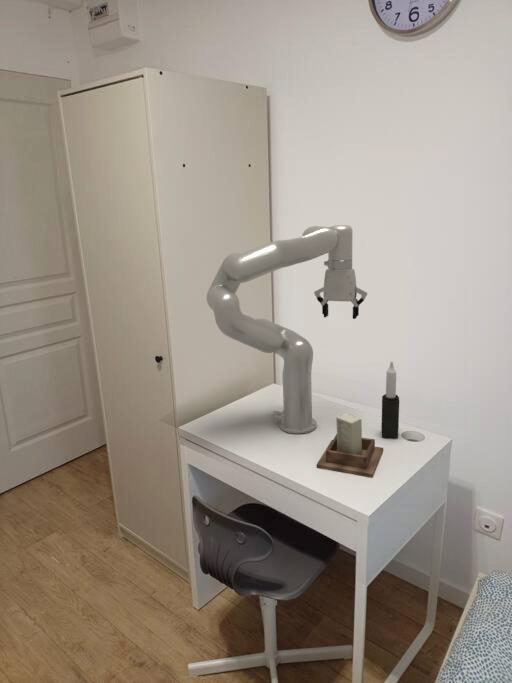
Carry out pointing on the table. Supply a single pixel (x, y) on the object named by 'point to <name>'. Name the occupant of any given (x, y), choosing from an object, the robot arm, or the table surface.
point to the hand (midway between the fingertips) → (340, 317)
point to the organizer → (352, 459)
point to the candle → (390, 406)
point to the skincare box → (349, 434)
